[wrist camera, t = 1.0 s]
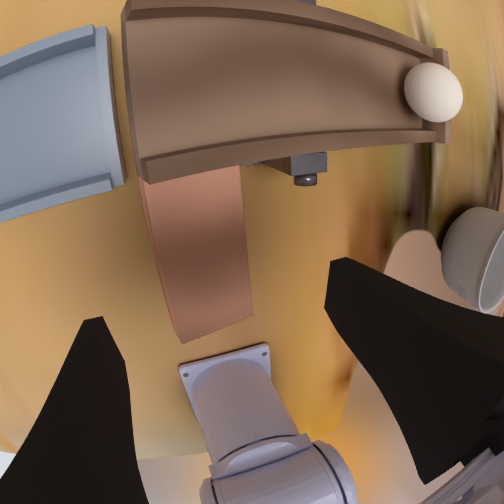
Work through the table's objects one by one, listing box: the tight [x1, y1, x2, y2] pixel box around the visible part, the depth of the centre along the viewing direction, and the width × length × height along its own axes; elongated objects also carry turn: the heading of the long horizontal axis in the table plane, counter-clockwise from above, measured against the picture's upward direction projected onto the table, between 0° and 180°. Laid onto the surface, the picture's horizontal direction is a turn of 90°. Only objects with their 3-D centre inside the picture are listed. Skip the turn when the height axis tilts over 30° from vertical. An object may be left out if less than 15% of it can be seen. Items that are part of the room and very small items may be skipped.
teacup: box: [441, 207, 504, 314], centre depth 27 cm, size 14×11×8 cm
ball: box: [404, 62, 463, 122], centre depth 15 cm, size 4×4×4 cm
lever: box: [121, 0, 451, 344], centre depth 15 cm, size 15×20×3 cm
